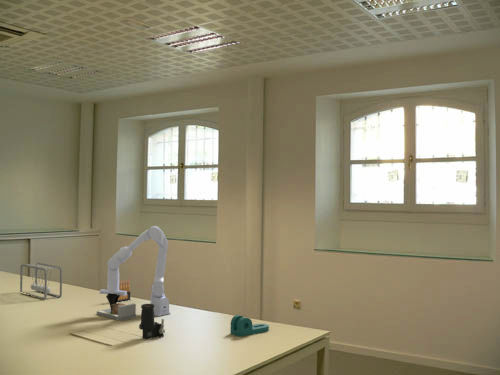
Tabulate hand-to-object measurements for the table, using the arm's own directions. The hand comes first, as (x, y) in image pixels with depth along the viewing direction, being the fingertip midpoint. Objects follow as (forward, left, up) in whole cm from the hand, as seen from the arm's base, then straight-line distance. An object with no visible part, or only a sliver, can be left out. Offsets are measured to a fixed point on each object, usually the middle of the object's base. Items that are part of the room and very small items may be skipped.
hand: (113, 309), depth 264 cm
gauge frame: (-3, 0, -3) cm, 4 cm away
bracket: (-72, -22, -3) cm, 75 cm away
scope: (-46, +14, -3) cm, 48 cm away
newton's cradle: (+72, -1, -3) cm, 72 cm away
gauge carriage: (-4, +1, -1) cm, 5 cm away
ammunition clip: (+24, -23, -3) cm, 34 cm away
